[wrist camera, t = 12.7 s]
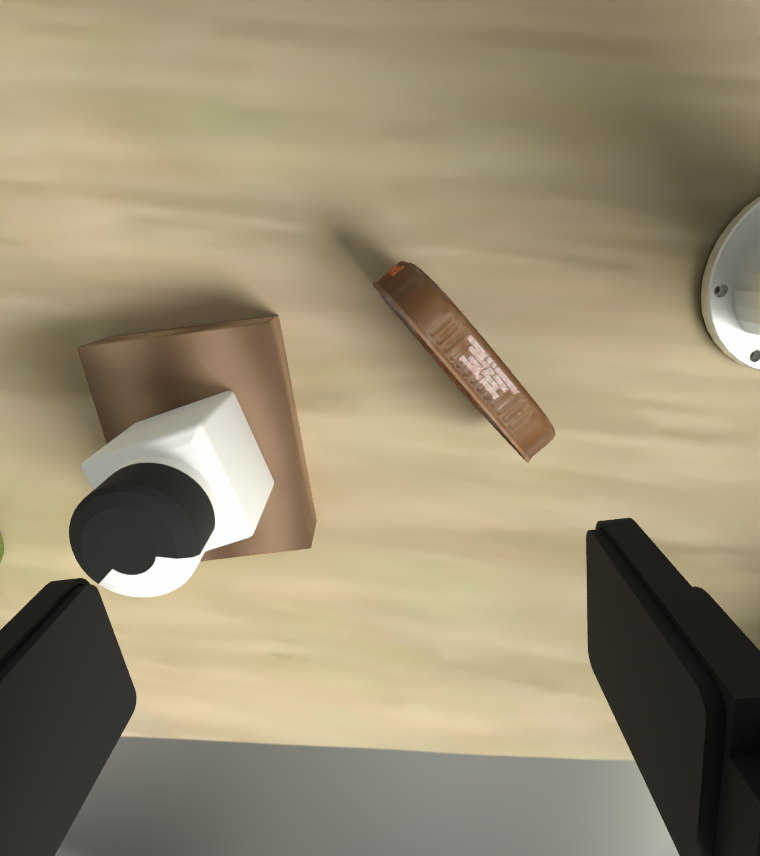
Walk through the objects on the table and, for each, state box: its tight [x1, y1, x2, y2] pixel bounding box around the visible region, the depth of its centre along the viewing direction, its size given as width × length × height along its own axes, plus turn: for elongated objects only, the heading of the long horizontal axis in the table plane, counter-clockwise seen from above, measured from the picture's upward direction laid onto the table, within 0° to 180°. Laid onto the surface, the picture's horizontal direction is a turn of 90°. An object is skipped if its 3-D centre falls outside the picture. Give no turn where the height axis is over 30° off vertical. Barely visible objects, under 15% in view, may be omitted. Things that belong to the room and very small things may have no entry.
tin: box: [373, 261, 555, 462], centre depth 34 cm, size 15×3×8 cm, turn 41°
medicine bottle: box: [69, 391, 274, 597], centre depth 30 cm, size 7×7×12 cm
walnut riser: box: [77, 315, 316, 561], centre depth 37 cm, size 12×16×4 cm
